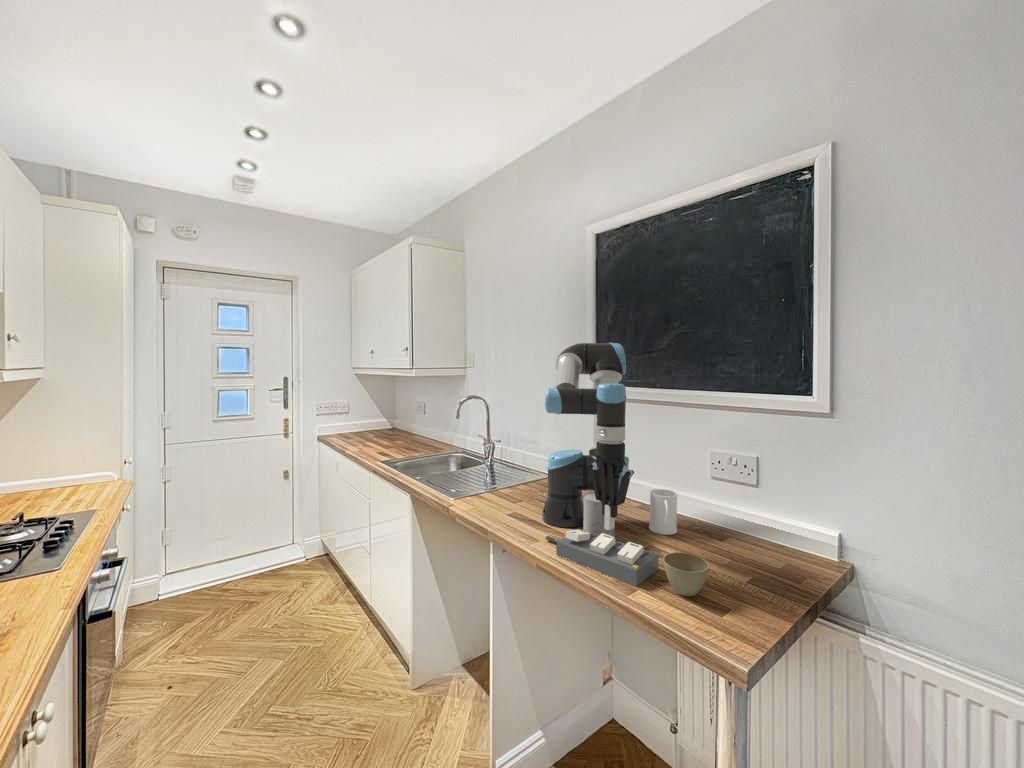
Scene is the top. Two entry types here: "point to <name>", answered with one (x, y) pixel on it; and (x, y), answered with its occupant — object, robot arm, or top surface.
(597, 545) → the block
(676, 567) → the flower pot
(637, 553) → the rocker
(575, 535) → the rocker
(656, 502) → the mug
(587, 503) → the grey concrete cylinder
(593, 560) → the power strip
